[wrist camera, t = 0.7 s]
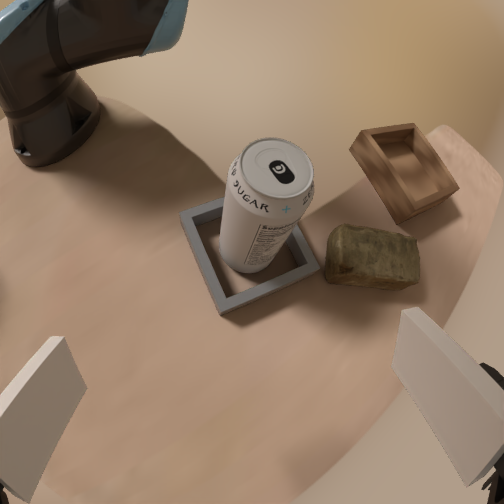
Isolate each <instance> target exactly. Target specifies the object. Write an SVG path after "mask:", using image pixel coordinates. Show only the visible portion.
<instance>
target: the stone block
mask: <svg viewBox="0 0 504 504" xmlns="http://www.w3.org/2000/svg"><path fill="white" fill-rule="evenodd" d="M416 243H417V239H416V238H414V237H406V236H403V235H401V234H399V233H393V232H388V231H384V230H379V229H374V228H368V227H362V226H354V225H350V224H343V225H340V226H339V227H337V228H335V229H334V230H333V231H332V232H331V234H330V236H329V238H328V241H327V251H326V265H325V276H326V280H327V281H328V283H334V284H344V285H354V286H368V287H375V288H381V289H386V290H402V289H404V288H406V287H408V286H410V285H414V284H416V283H418V280H419V277H420V257H419V252H418V248H417V244H416Z"/></svg>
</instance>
